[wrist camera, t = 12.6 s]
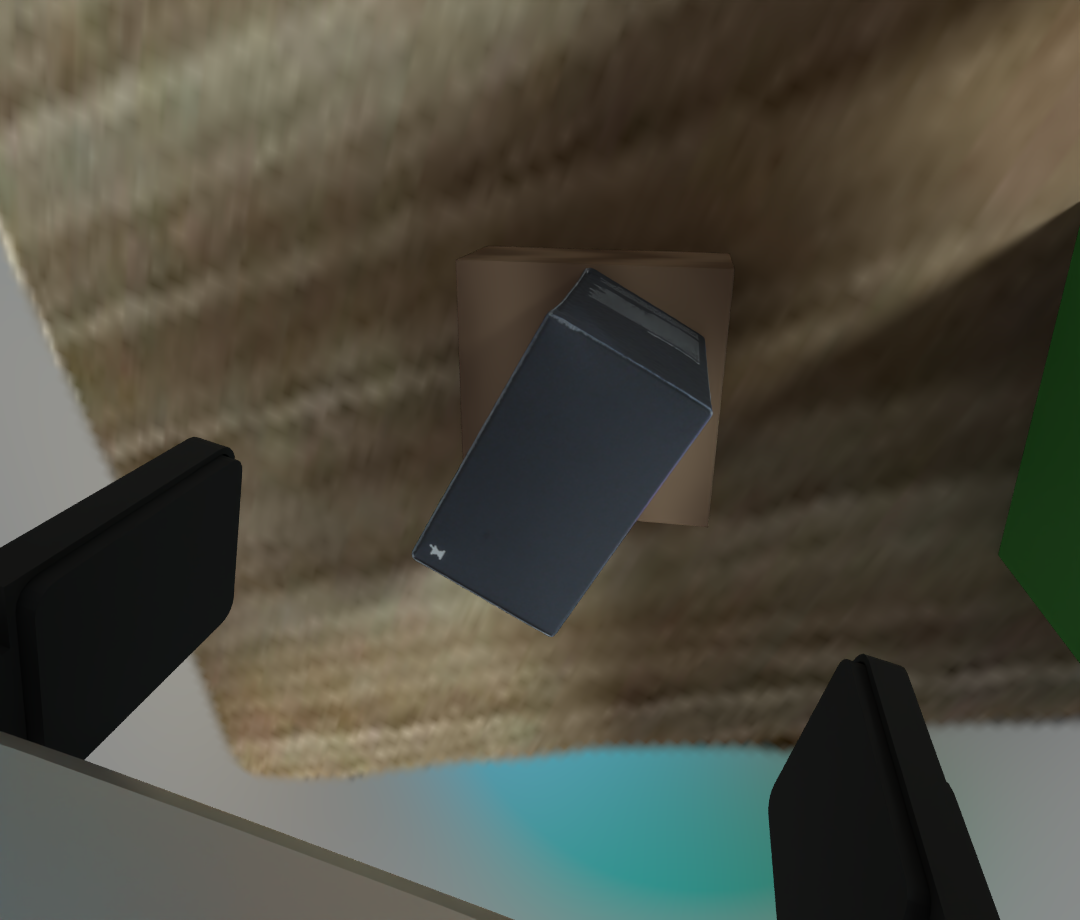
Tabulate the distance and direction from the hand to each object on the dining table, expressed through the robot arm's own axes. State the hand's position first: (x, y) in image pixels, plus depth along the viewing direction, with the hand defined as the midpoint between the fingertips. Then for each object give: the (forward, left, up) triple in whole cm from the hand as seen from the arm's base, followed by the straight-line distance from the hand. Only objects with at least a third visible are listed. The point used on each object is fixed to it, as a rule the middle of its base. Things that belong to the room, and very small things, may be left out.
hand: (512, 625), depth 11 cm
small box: (+1, +4, -24) cm, 24 cm away
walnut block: (+1, +4, -29) cm, 30 cm away
